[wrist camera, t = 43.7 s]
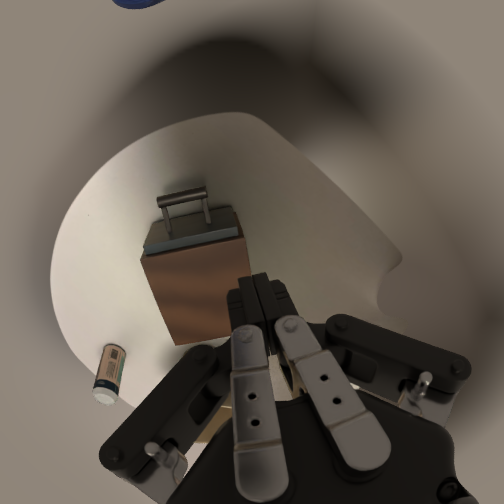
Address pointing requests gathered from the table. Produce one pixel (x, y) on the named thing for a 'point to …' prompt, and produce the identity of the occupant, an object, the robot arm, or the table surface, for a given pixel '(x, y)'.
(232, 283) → the cabinet
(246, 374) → the robot arm
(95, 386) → the beer can
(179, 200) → the drawer
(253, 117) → the table surface
